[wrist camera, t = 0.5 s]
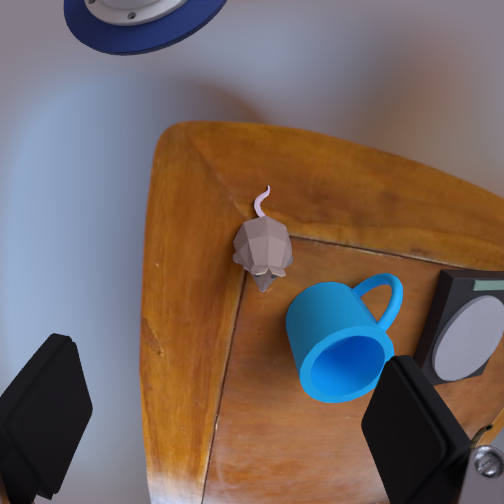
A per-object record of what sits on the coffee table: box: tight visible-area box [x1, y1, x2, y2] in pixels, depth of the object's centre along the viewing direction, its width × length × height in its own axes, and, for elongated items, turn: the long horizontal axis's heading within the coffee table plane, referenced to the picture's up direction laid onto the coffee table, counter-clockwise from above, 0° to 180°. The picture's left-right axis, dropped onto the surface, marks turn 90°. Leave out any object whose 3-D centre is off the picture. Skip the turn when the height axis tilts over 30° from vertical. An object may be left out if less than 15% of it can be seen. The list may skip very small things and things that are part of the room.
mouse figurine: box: [233, 185, 294, 292], centre depth 25 cm, size 5×8×7 cm, turn 174°
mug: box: [286, 273, 403, 403], centre depth 27 cm, size 12×8×8 cm
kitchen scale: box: [413, 270, 504, 385], centre depth 32 cm, size 15×13×3 cm
